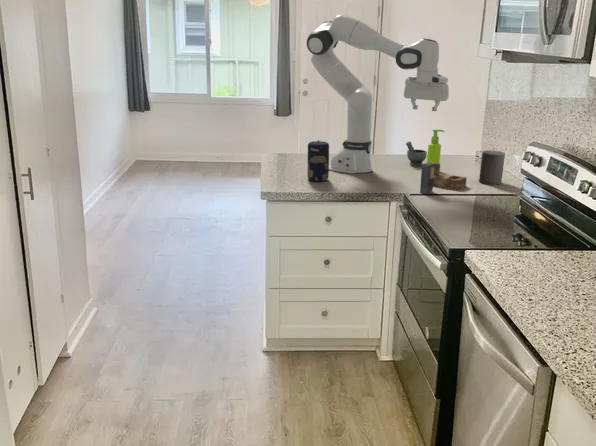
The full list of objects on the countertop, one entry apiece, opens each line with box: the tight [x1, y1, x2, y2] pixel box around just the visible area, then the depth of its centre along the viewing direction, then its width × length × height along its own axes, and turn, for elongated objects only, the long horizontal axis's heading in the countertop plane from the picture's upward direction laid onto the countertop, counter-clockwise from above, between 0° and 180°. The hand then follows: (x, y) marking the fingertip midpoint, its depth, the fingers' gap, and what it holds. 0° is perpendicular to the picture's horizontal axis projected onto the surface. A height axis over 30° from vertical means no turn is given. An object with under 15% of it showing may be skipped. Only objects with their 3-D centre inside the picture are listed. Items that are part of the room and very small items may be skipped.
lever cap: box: [419, 162, 434, 194], centre depth 246 cm, size 4×5×12 cm
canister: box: [307, 139, 330, 182], centre depth 265 cm, size 10×10×18 cm
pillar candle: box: [478, 149, 506, 186], centre depth 263 cm, size 10×10×15 cm
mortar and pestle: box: [405, 141, 428, 167], centre depth 300 cm, size 11×9×12 cm
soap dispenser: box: [426, 129, 445, 164], centre depth 284 cm, size 6×7×20 cm
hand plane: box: [433, 162, 467, 191], centre depth 258 cm, size 15×8×9 cm, turn 50°
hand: (424, 110), depth 261 cm, fingers open, 8 cm apart
